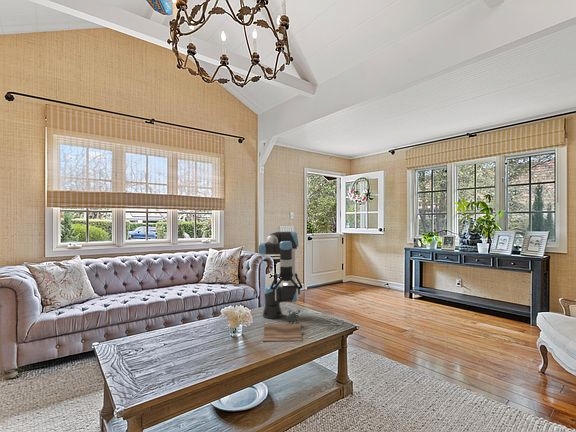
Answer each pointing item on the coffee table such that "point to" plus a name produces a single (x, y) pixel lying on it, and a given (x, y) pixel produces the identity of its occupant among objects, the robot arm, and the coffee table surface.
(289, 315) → the figurine
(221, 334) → the coffee table surface
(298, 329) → the plank
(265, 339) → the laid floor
